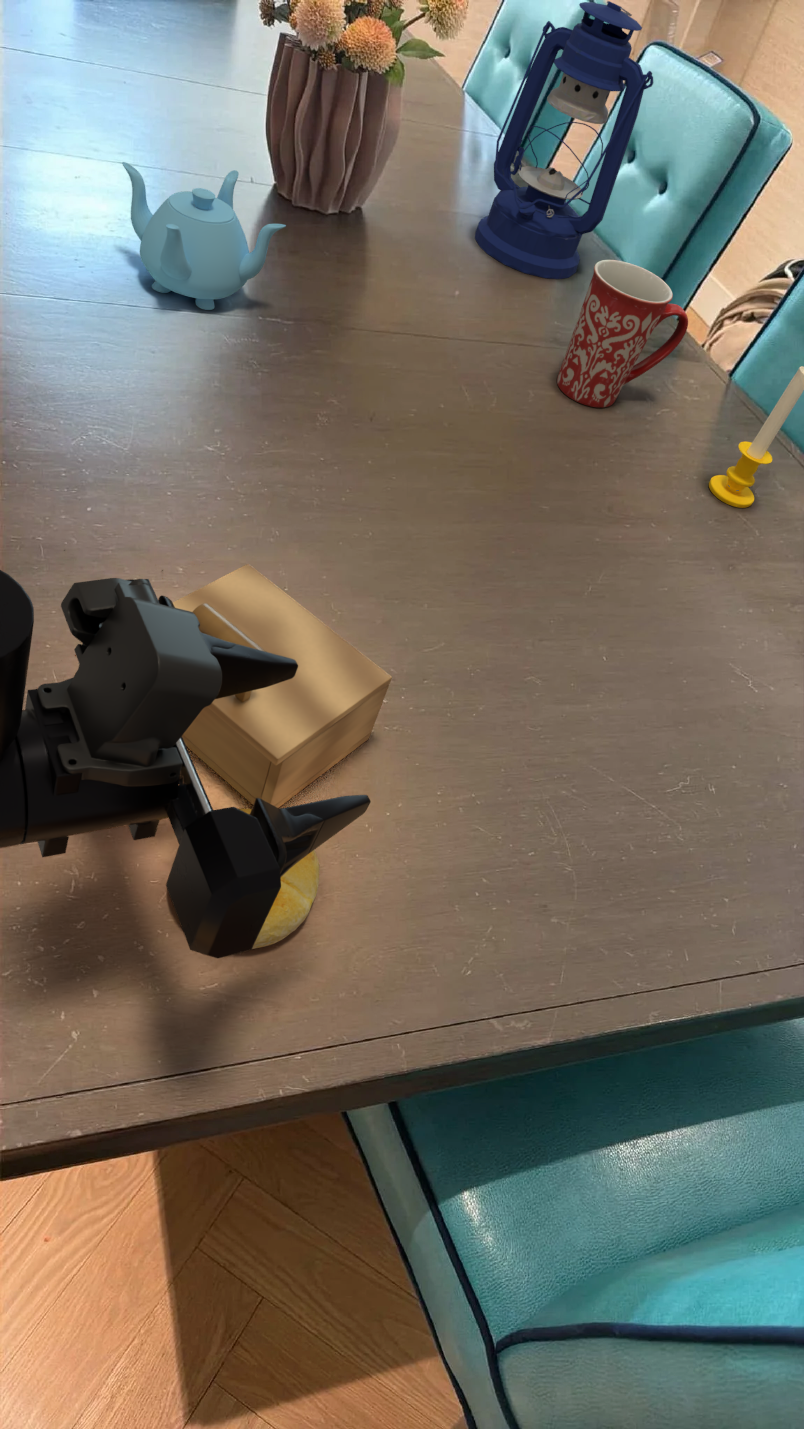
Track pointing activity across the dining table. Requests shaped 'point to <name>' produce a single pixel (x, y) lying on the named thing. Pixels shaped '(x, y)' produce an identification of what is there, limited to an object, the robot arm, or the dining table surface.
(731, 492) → the candle
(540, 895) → the dining table surface
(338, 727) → the storage box
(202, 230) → the teapot
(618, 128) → the lantern
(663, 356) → the mug
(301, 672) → the box door
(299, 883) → the bread roll
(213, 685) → the robot arm
